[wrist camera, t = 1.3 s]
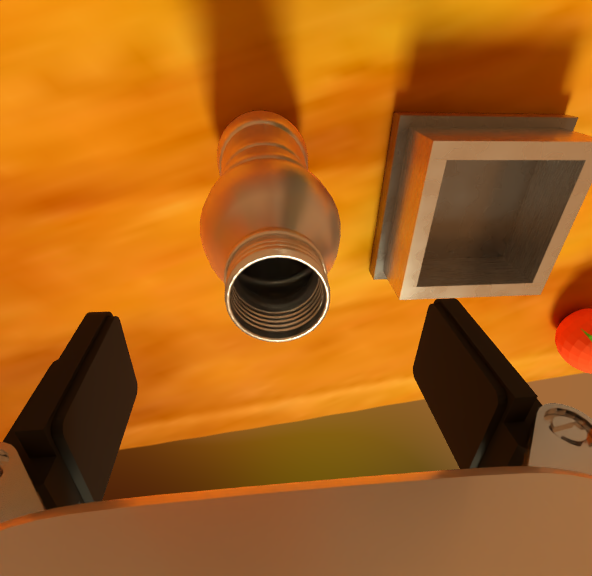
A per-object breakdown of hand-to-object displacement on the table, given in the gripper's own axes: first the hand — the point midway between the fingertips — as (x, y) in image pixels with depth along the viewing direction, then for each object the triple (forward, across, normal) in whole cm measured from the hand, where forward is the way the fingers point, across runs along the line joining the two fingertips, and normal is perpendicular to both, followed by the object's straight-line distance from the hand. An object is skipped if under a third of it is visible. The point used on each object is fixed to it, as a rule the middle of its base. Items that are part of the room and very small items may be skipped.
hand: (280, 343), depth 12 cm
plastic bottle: (+22, 0, -1) cm, 22 cm away
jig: (+22, -17, +3) cm, 28 cm away
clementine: (+22, -34, +17) cm, 44 cm away
